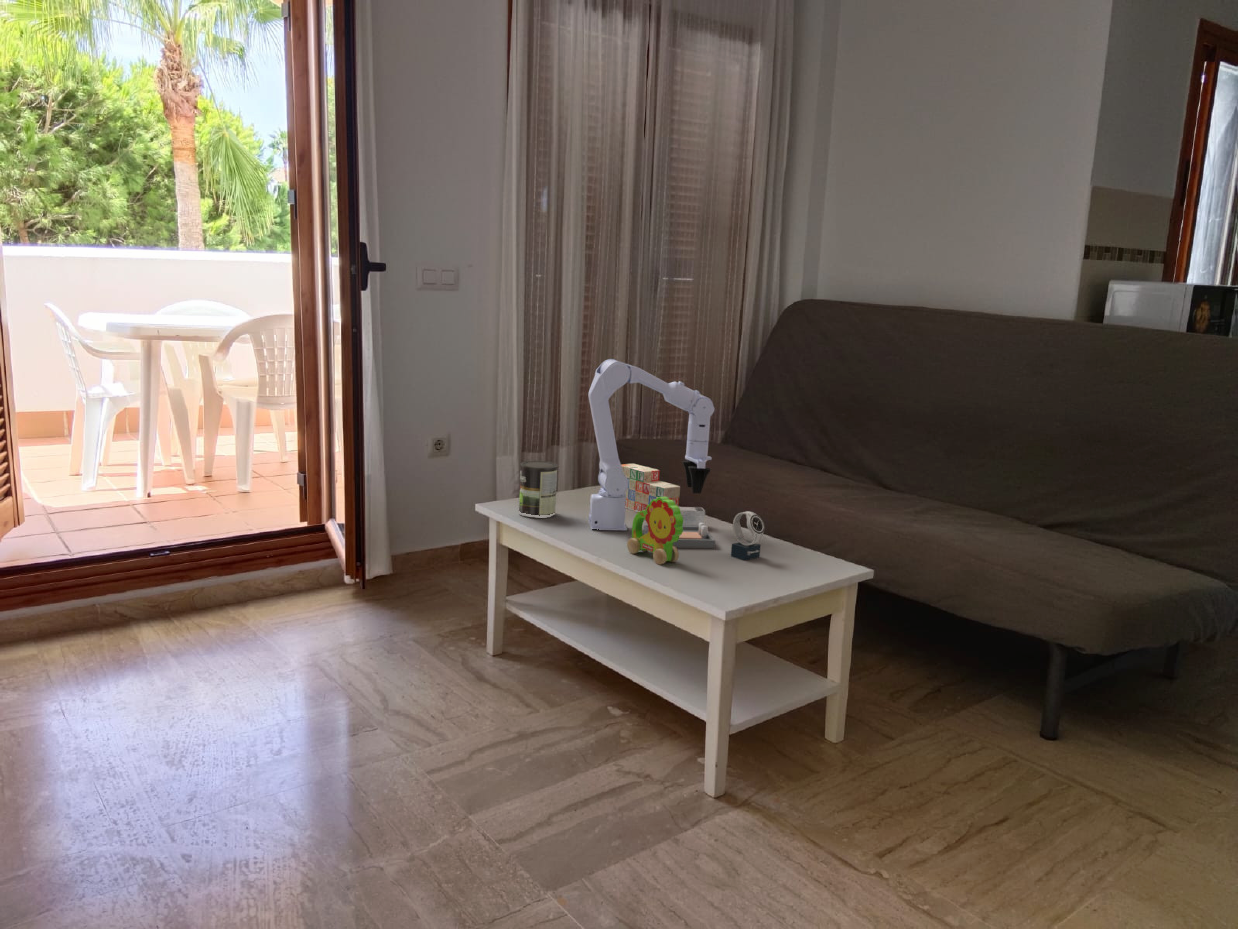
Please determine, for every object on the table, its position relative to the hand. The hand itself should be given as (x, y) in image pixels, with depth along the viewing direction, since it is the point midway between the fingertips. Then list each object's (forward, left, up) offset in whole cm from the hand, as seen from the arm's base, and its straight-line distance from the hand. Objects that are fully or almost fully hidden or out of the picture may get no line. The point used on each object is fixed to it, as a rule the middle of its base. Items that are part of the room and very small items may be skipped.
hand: (694, 490), depth 246 cm
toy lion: (-15, -31, -11) cm, 36 cm away
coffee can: (-41, +11, -10) cm, 44 cm away
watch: (+8, -28, -10) cm, 31 cm away
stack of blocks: (-10, +17, -11) cm, 23 cm away
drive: (-1, +1, -10) cm, 11 cm away
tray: (-6, -14, -10) cm, 19 cm away
